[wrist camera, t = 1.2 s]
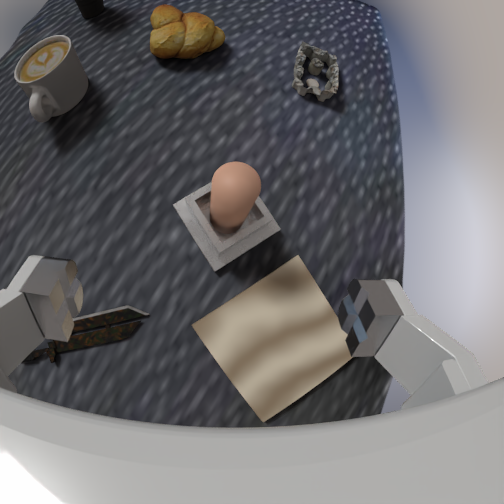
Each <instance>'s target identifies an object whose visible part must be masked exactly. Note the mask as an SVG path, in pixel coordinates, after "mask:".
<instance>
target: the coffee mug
mask: <svg viewBox="0 0 504 504" xmlns="http://www.w3.org/2000/svg"><path fill="white" fill-rule="evenodd" d="M14 76H15V79H16V81H17V83H18V84H19V85H20V87H21V88H22V89H23V90H24V92H25V93H26V94H27V96H28V97H29V98H30V102H29V106H30V112H31V114H32V116H33V117H34V118H35V120H37V121H38V122H46V121H48V120H49V119H50V118H51V117H54V116H58V115H61V114H64V113H66V112H68V111H69V110H71V109H72V108H73V107H75V106H76V105H77V104H78V103H79V102H80V101H81V99H82V98H83V97H84V95H85V93H86V91H87V88H88V78H87V76H86V74H85V71H84V69H83V67H82V65H81V63H80V60H79V58H78V56H77V54H76V51H75V49H74V47H73V44H72V42H71V40H70V39H69V38H68V37H67V36H64V35H55V36H51V37H48V38H46V39H44V40H42V41H40V42H38V43H37V44H35V45H34V46H33V47H32V48H30V49H29V50H28V51H27V52H26V53H25V54H24V55H23V57H22V58H21V59H20V61H19V62H18V64H17V66H16V69H15V75H14Z"/></svg>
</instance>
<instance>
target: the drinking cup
mask: <svg viewBox="0 0 504 504" xmlns="http://www.w3.org/2000/svg"><path fill="white" fill-rule="evenodd" d="M75 1H76V3H77V5H78V7H79V9H80V11H81V13H82V16H83V17H84V18H92V17H95V16H97V15H99V14H100V13H101V12H102V11H103V10H104V5H103V0H75Z"/></svg>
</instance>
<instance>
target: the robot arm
mask: <svg viewBox="0 0 504 504" xmlns="http://www.w3.org/2000/svg"><path fill="white" fill-rule="evenodd" d="M77 272H78V270H77V266H76V263H75V262H74V261H73V260H71V259H62V258H54V257H46V256H45V257H44V256H37V255H32V256H29V257H28V259H27V260H26V261H25V263H24V264H23V266H22V267H21V268H20V270H19V271H18V273H17V274H16V276H15V277H14V279H13V280H12V282H11V283H10V285H9V286H8V288H7V289H6V290H5V289H2V290H0V504H504V377H503V378H501V379H498V380H496V381H493V382H491V383H488V381H487V379H486V377H485V375H484V373H483V371H482V369H481V367H480V366H479V364H478V362H477V360H476V358H475V356H474V354H473V353H471V352H470V351H469V350H468V349H466V348H465V347H464V346H463V345H461V344H460V343H459V342H457V341H456V340H455V339H453V338H452V337H450V336H449V335H448V334H447V333H445V332H444V331H443V330H441V329H440V328H439V327H437V326H436V325H435V324H433V323H432V322H431V321H429V320H428V319H427V318H425V317H424V316H423V315H418V314H417V312H416V311H415V309H414V307H413V305H412V304H411V302H410V300H409V299H408V297H407V295H406V294H405V292H404V291H403V289H402V287H401V286H400V284H399V282H397V281H396V280H388V279H381V280H370V279H353V280H352V281H351V282H350V284H349V286H348V288H347V290H348V293H349V295H348V296H347V297H345V298H344V299H343V300H342V302H341V304H340V307H339V314H338V318H339V324H340V327H341V329H342V330H343V331H344V332H345V333H347V334H348V335H347V337H346V340H345V341H346V344H347V346H348V349H349V352H350V355H351V357H363V356H375V358H376V359H377V360H378V361H379V362H380V363H381V364H382V365H383V367H384V368H385V369H386V370H387V371H388V372H389V373H390V374H391V375H392V376H393V377H394V378H395V379H396V380H397V381H398V382H399V383H400V384H401V385H402V386H403V388H404V389H405V390H406V391H407V392H408V393H409V394H410V395H411V396H410V397H409V398H408V399H407V400H406V401H405V402H404V403H403V405H402V406H401V410H398V411H393V412H388V413H383V414H378V415H373V416H367V417H362V418H355V419H349V420H342V421H335V422H327V423H318V424H308V425H296V426H282V427H259V428H216V427H193V426H178V425H167V424H157V423H148V422H140V421H133V420H126V419H120V418H114V417H108V416H103V415H97V414H92V413H88V412H83V411H78V410H74V409H70V408H66V407H62V406H58V405H54V404H50V403H47V402H43V401H40V400H36V399H33V398H30V397H27V396H24V395H21V394H17V390H16V387H15V386H14V384H13V383H12V382H11V381H10V379H9V378H8V377H7V376H8V375H9V374H10V373H11V372H12V371H13V370H14V369H15V368H16V367H17V366H18V365H19V364H20V363H21V362H22V361H23V360H24V359H25V358H26V357H27V356H28V355H29V354H30V353H31V352H32V351H33V350H34V349H35V348H36V347H37V346H38V345H39V344H40V343H41V342H43V341H44V338H47V339H53V340H59V341H65V342H68V340H69V338H70V335H71V333H72V330H73V327H74V322H73V319H72V318H74V317H75V316H76V315H78V314H79V312H80V310H81V307H82V302H83V289H82V285H81V283H80V282H79V280H78V279H77V278H76V277H75V276H76V274H77Z"/></svg>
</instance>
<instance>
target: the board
mask: <svg viewBox="0 0 504 504" xmlns="http://www.w3.org/2000/svg"><path fill="white" fill-rule="evenodd" d="M192 326H193V328H194V329H195V331H196V332H197V334H198V335H199V337H200V338H201V340H202V341H203V343H204V344H205V345H206V347H207V348H208V350H209V351H210V353H211V354H212V355H213V357H214V358H215V360H216V361H217V362H218V364H219V365H220V367H221V368H222V369H223V371H224V372H225V373H226V375H227V376H228V378H229V379H230V380H231V382H232V383H233V384H234V386H235V387H236V388H237V390H238V391H239V392H240V394H241V395H242V396H243V397H244V399H245V400H246V401H247V403H248V404H249V405H250V406H251V408H252V409H253V410H254V412H255V413H256V414H257V415H258V417H259V418H260V419H261V420H262V422H265V421H266V420H268V419H269V418H271V417H272V416H274V415H275V414H277V413H278V412H280V411H281V410H283V409H284V408H286V407H287V406H289V405H290V404H292V403H293V402H295V401H296V400H297V399H299V398H300V397H302V396H303V395H304V394H306V393H307V392H309V391H310V390H311V389H313V388H314V387H315V386H317V385H318V384H319V383H321V382H322V381H323V380H325V379H326V378H327V377H329V376H330V375H331V374H333V373H334V372H335V371H336V370H338V369H339V368H340V367H341V366H343V365H344V364H345V363H346V362H348V361H349V360H350V359H351V358H353V357H351V355H350V352H349V349H348V346H347V344H346V341H345V340H346V337H347V335H348V334H347V333H345V332H344V331H343V330H342V329H341V327H340V324H339V319H338V317H337V316H336V314H335V313H334V311H333V309H332V308H331V306H330V304H329V303H328V301H327V300H326V298H325V296H324V295H323V293H322V292H321V290H320V288H319V287H318V285H317V284H316V282H315V281H314V279H313V277H312V276H311V274H310V273H309V271H308V270H307V268H306V266H305V265H304V263H303V262H302V260H301V259H300V257H299V255H297V256H295V257H294V258H292V259H291V260H289V261H288V262H286V263H285V264H283V265H282V266H280V267H279V268H277V269H276V270H275V271H273V272H272V273H270V274H269V275H267V276H266V277H264V278H263V279H261V280H260V281H258V282H257V283H255V284H254V285H252V286H251V287H249V288H248V289H246V290H245V291H243V292H241V293H240V294H238V295H237V296H235V297H234V298H232V299H231V300H229V301H228V302H226V303H225V304H223V305H222V306H220V307H219V308H217V309H216V310H214V311H212V312H211V313H209V314H208V315H206V316H205V317H203V318H202V319H200V320H199V321H197V322H195V323H194V324H192Z"/></svg>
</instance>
